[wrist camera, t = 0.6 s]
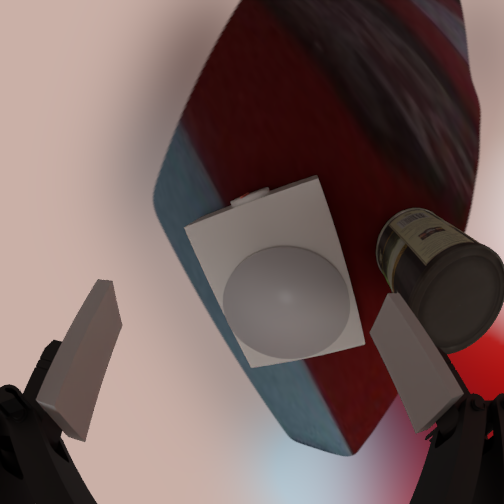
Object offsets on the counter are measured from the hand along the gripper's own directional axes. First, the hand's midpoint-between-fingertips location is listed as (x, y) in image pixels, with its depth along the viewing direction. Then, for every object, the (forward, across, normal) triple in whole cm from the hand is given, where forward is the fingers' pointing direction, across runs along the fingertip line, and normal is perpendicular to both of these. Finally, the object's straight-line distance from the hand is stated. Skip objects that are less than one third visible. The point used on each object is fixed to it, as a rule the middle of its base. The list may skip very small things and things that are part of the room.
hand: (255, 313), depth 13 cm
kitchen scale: (+19, +6, -10) cm, 23 cm away
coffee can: (+16, +21, -4) cm, 27 cm away
